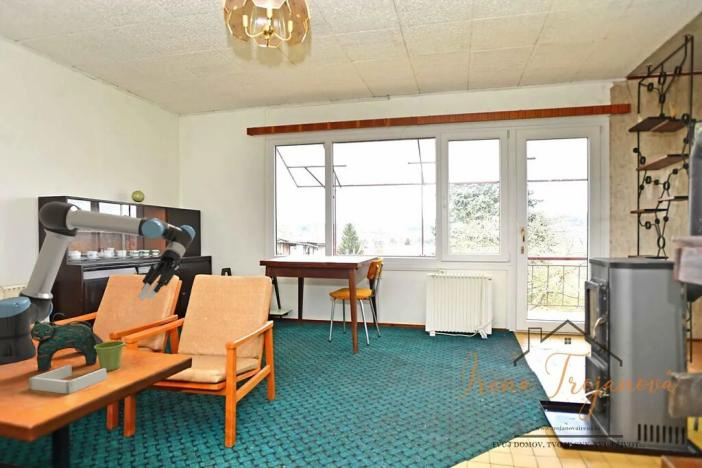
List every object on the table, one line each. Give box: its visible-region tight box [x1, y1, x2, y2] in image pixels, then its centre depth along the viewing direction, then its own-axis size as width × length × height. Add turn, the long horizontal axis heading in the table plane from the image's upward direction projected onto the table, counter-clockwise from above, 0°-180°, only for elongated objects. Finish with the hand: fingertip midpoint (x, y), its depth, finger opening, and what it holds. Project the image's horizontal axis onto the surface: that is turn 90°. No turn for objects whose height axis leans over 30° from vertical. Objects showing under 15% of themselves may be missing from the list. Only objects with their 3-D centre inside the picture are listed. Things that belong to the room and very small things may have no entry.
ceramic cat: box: [30, 312, 98, 373], centre depth 153 cm, size 20×6×20 cm, turn 112°
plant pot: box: [94, 340, 125, 372], centre depth 149 cm, size 9×9×9 cm
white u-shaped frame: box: [28, 364, 108, 395], centre depth 134 cm, size 16×13×4 cm
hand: (145, 298), depth 168 cm, fingers open, 4 cm apart
